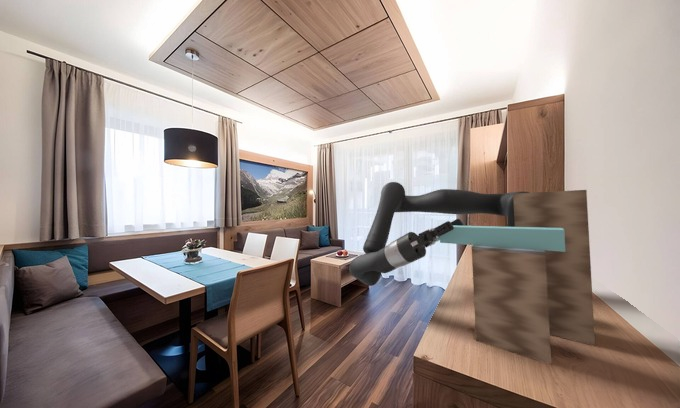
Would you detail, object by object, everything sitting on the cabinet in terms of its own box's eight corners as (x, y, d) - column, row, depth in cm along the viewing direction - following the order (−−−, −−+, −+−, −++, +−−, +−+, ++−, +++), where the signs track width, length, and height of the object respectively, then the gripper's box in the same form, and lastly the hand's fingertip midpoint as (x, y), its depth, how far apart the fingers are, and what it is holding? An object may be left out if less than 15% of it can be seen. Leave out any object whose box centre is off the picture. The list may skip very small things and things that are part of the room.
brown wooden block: (476, 340, 49) (471, 246, 49) (482, 325, 55) (478, 241, 55) (551, 364, 41) (545, 252, 41) (549, 343, 47) (544, 245, 47)
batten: (440, 242, 56) (439, 226, 56) (445, 240, 58) (444, 225, 59) (565, 251, 41) (564, 230, 41) (563, 248, 44) (562, 227, 44)
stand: (519, 326, 54) (513, 193, 54) (521, 315, 59) (515, 194, 59) (595, 345, 46) (586, 189, 46) (589, 330, 51) (581, 190, 51)
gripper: (385, 242, 60) (438, 211, 51) (408, 235, 71) (456, 209, 61) (399, 268, 57) (458, 241, 48) (421, 257, 68) (472, 233, 59)
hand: (456, 223), depth 55 cm, fingers open, 8 cm apart
